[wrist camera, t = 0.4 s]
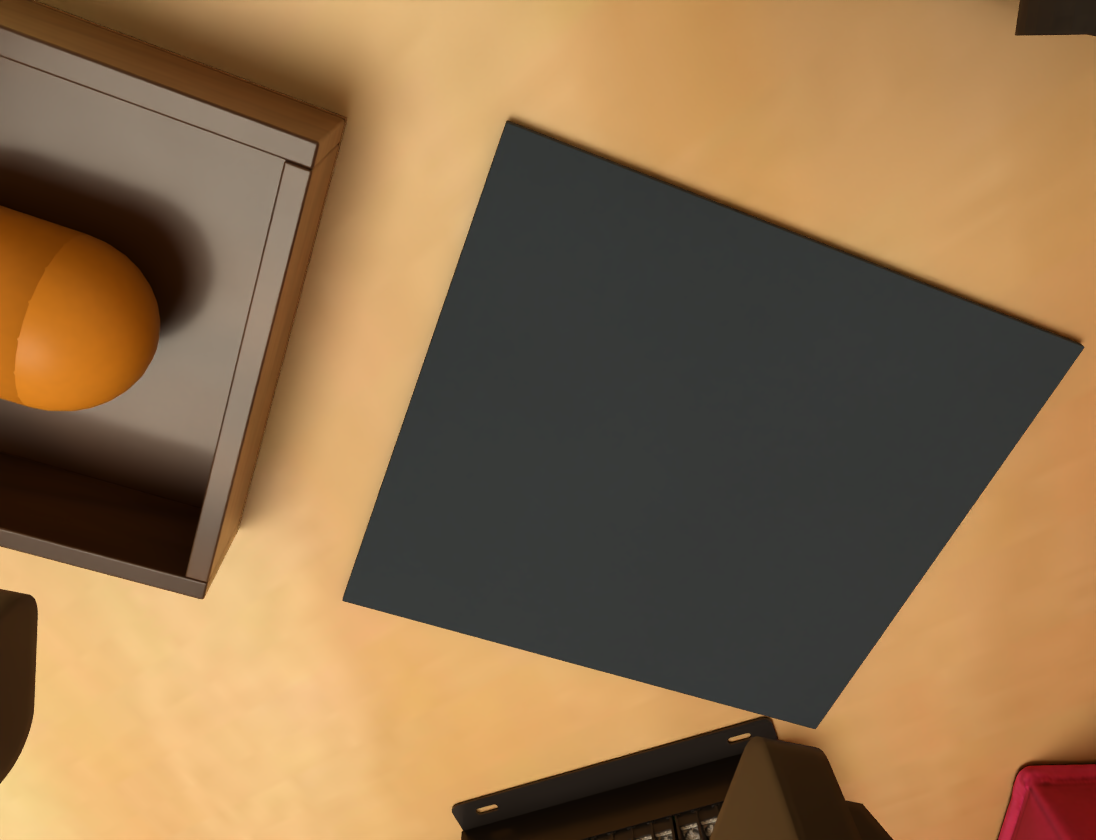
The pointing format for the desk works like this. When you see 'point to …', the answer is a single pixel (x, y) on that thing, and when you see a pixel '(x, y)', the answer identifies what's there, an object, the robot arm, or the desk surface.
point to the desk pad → (686, 438)
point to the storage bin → (1052, 804)
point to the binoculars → (1056, 17)
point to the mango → (69, 317)
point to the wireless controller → (621, 795)
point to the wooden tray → (157, 287)
